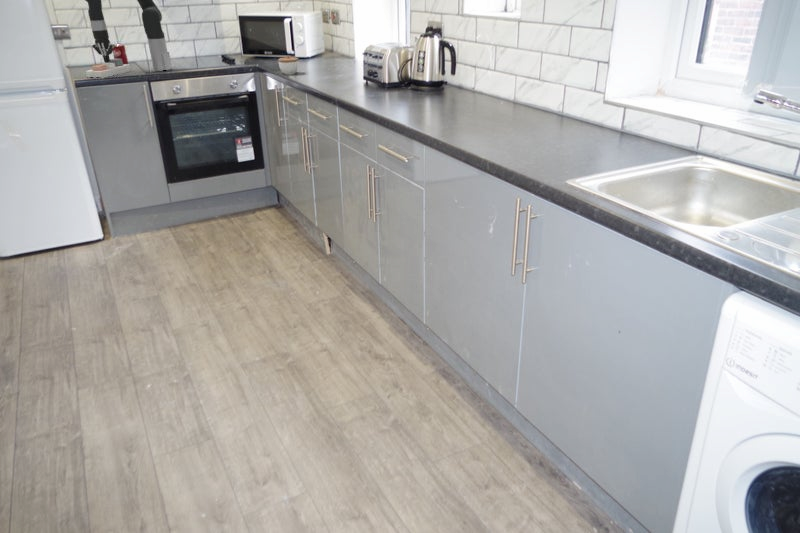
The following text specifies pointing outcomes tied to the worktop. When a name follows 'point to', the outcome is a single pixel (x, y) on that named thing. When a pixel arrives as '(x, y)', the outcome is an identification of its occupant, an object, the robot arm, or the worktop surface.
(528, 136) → the worktop surface
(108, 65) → the ivory key
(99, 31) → the robot arm
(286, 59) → the lidded jar
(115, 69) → the keypad housing
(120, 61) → the charcoal key
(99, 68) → the terracotta key
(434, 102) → the worktop surface
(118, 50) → the soda can
